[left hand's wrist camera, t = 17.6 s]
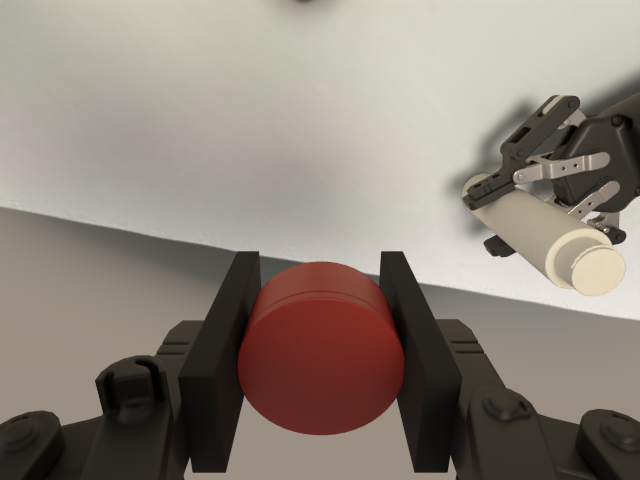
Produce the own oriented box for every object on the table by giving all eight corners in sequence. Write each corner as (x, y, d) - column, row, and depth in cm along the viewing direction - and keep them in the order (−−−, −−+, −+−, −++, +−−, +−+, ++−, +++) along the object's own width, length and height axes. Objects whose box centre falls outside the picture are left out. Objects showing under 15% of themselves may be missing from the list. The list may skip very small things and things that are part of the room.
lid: (234, 274, 12) (216, 313, 10) (382, 249, 12) (395, 284, 10) (267, 391, 13) (258, 445, 11) (399, 371, 13) (413, 424, 11)
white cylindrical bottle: (509, 180, 40) (651, 252, 22) (491, 218, 41) (610, 313, 24) (471, 167, 39) (586, 230, 22) (454, 205, 41) (548, 293, 23)
